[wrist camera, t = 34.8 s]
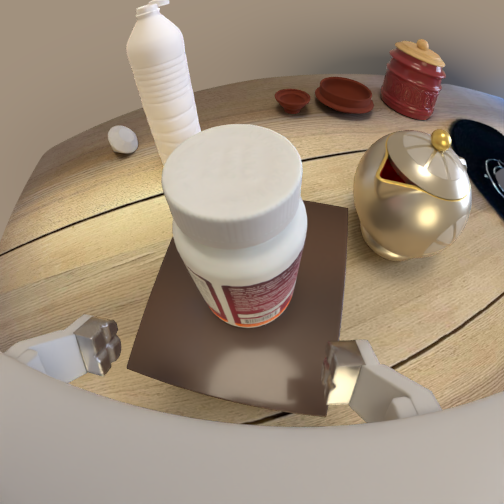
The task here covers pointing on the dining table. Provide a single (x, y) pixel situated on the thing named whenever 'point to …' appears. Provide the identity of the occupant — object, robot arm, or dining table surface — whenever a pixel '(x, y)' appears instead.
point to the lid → (250, 329)
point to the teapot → (411, 195)
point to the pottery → (330, 96)
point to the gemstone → (122, 139)
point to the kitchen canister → (413, 79)
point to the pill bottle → (238, 219)
